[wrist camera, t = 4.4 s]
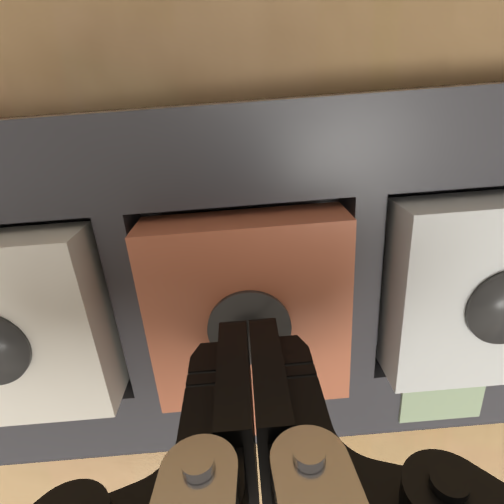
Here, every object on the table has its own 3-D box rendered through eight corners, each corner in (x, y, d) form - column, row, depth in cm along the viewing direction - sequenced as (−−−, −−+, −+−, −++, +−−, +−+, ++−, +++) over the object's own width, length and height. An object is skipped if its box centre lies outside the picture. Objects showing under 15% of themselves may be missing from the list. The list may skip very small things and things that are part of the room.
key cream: (-111, 236, 11) (-178, 264, 9) (90, 220, 11) (62, 245, 9) (-38, 391, 14) (-80, 438, 12) (129, 377, 14) (113, 422, 12)
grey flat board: (-169, 130, 12) (-264, 139, 9) (854, 55, 12) (994, 47, 10) (-28, 421, 16) (-69, 473, 14) (703, 360, 17) (774, 402, 14)
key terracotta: (141, 216, 11) (122, 240, 10) (338, 201, 11) (359, 222, 10) (171, 374, 14) (161, 418, 12) (334, 360, 14) (350, 402, 12)
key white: (388, 197, 11) (417, 217, 10) (583, 182, 12) (649, 199, 10) (376, 357, 14) (397, 398, 12) (537, 344, 14) (584, 382, 12)
